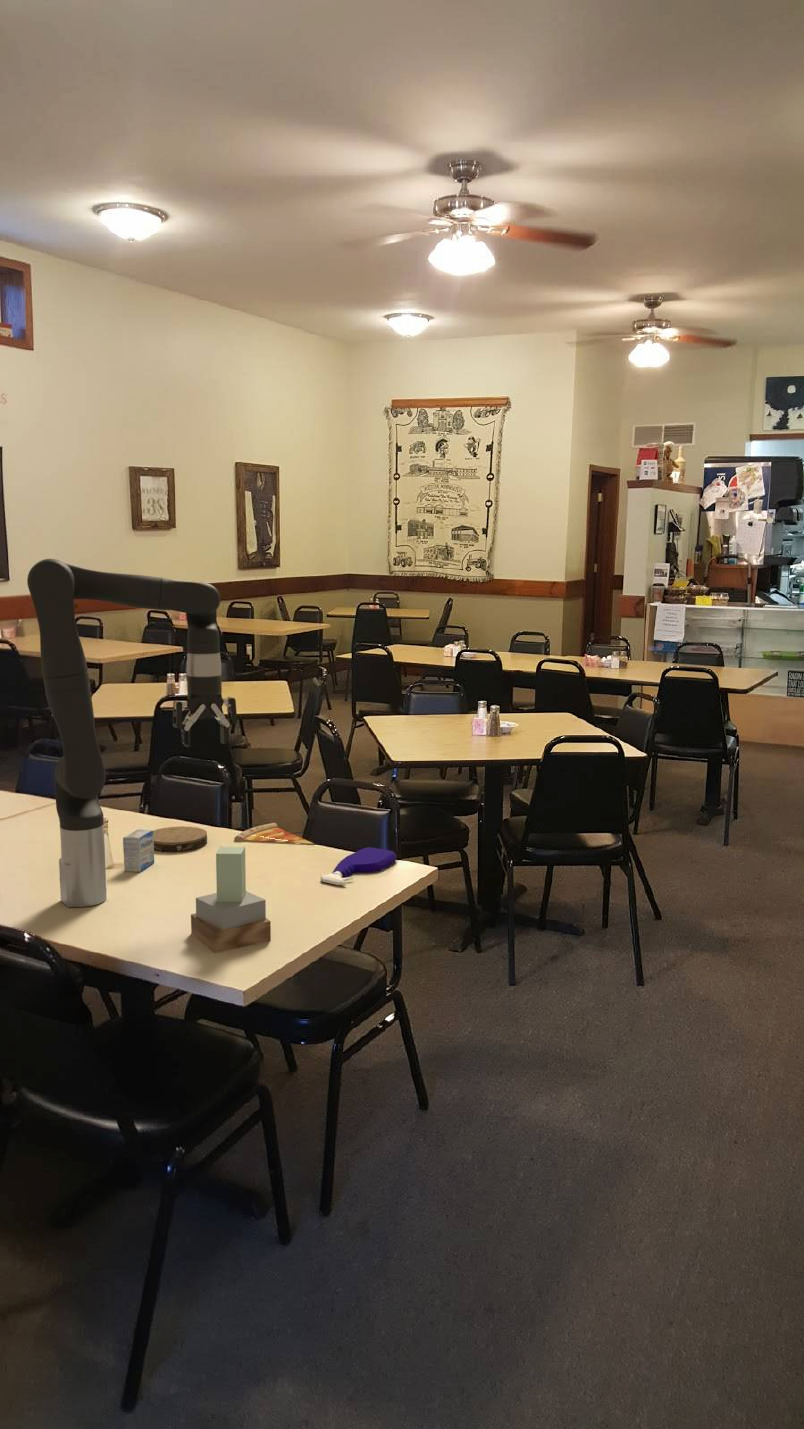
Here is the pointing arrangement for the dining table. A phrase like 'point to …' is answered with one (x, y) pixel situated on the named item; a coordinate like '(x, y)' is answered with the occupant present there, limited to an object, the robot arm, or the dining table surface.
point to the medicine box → (138, 850)
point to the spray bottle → (360, 864)
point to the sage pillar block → (230, 874)
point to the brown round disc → (179, 839)
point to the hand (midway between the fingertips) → (205, 745)
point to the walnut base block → (230, 934)
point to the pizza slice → (270, 835)
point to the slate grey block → (230, 911)
